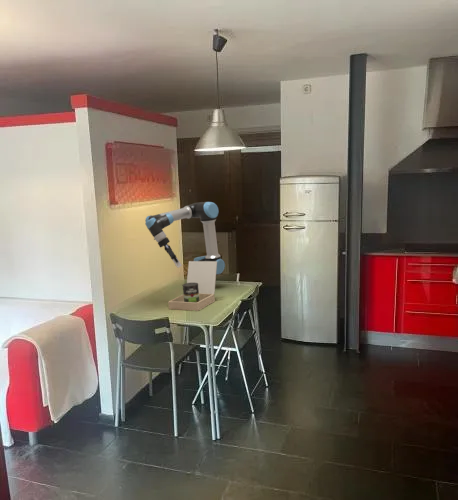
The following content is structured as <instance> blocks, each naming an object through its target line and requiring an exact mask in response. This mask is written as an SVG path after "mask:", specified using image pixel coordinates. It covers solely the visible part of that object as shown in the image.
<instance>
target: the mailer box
mask: <svg viewBox="0 0 458 500" xmlns="http://www.w3.org/2000/svg"><path fill="white" fill-rule="evenodd" d="M187 268H188V269H187V276H186V277H187V278H186V283H198V289H199V302H197V303H194V302H184V294H180V295H179V296H177V297H175V298H173V299H170V300H169V301H168V302H167V304H168V309H169V310H177V309H178V310H180V311H192V310H195V311H197V312H199V311H200V309H201V310H202V309H204V308H206V307H208V306H209V305H211V304H213V303H215V302H216V300H215V293H216V291H215V290H216V282H217V281H216V280H217V279H216V278H217V274H216V269H217V261H194V260H189V261H188V265H187ZM207 305H208V306H207Z"/></svg>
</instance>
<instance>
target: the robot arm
mask: <svg viewBox="0 0 458 500" xmlns="http://www.w3.org/2000/svg"><path fill="white" fill-rule="evenodd" d="M218 216H219V207H218V205H217V204H216V203H215V202H212V201H204V202H203V201H201V202H200V201H199V202H194V203H192V204H191V203H190V204H188V205H185V206H184V207H182V208H179V209H178V208H177V209H174V210H170V211H169V210H168V211H166V212H161V213H158V214H153V215H148V216H146V217H145V219H144V220H145V226H146V228H147V230H148V231H149V232H150V234H151V235H152V237H153V241H155V242H156V243H157V245H158V246H159V248H164V251H165V252H166V253H167V254H168V256H169V257H170V259H171V260H172V262H173V263H174V264H175V266H176V268H178V269H179V268H181V267H182V266H183V265H182V263H181V262H180V260H179V259H178V257H177V255H176V254H175V252H174V251H173V249H172V247H171V246H170V245H169V243H170V239H169V237H167V234H166V233H165V231H164V230H163V229H165V228H166V227H168V226H170V225H172V224H173V223H174V222H176V221H180V220H183V219H188V220H190V219H199V221H200V222H201V223H202V227H203V234H204V244H205V251H206V255H201V256H197V257H194V258H193V261H217V269H216V275H221V274H222V273H223V272H224V270H225V267H226V264H225V261H224V260H223V259H222V257H221V254H220V253H219V250H218V241H217V233H216V225H215V222H216V220H217V217H218Z"/></svg>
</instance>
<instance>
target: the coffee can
mask: <svg viewBox="0 0 458 500" xmlns="http://www.w3.org/2000/svg"><path fill="white" fill-rule="evenodd" d="M182 293H183V294H184V302H194V303H197V302H199V289H198V283H187V282H186V283H183V284H182ZM183 294H182V295H183Z"/></svg>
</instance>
